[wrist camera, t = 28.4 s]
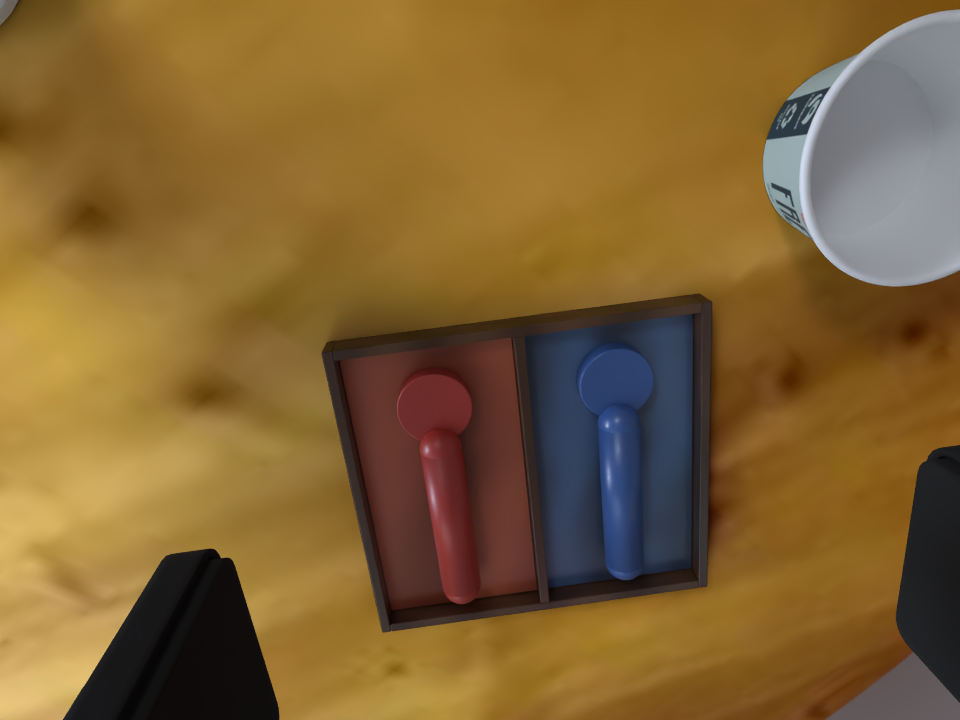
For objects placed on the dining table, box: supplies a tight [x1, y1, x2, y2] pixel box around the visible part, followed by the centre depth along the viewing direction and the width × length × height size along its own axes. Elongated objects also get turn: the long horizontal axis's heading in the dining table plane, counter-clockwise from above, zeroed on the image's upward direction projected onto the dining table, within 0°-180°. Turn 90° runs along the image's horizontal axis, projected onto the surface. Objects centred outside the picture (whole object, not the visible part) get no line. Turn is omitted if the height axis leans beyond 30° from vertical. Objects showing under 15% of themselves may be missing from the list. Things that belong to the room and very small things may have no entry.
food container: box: [763, 10, 960, 286], centre depth 32 cm, size 12×12×6 cm
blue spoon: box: [576, 342, 654, 580], centre depth 39 cm, size 16×4×2 cm, turn 7°
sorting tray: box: [322, 294, 712, 632], centre depth 40 cm, size 22×20×2 cm
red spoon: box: [397, 367, 481, 604], centre depth 39 cm, size 16×4×2 cm, turn 7°
